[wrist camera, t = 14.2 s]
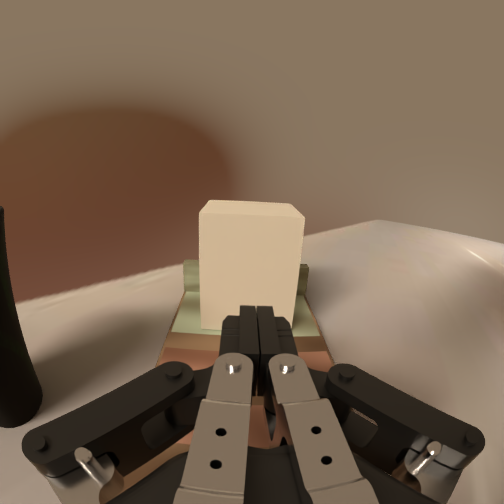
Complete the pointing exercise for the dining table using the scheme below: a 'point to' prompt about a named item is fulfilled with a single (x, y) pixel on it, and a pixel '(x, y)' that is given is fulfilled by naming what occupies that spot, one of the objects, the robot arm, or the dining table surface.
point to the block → (248, 258)
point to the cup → (14, 355)
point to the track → (207, 351)
